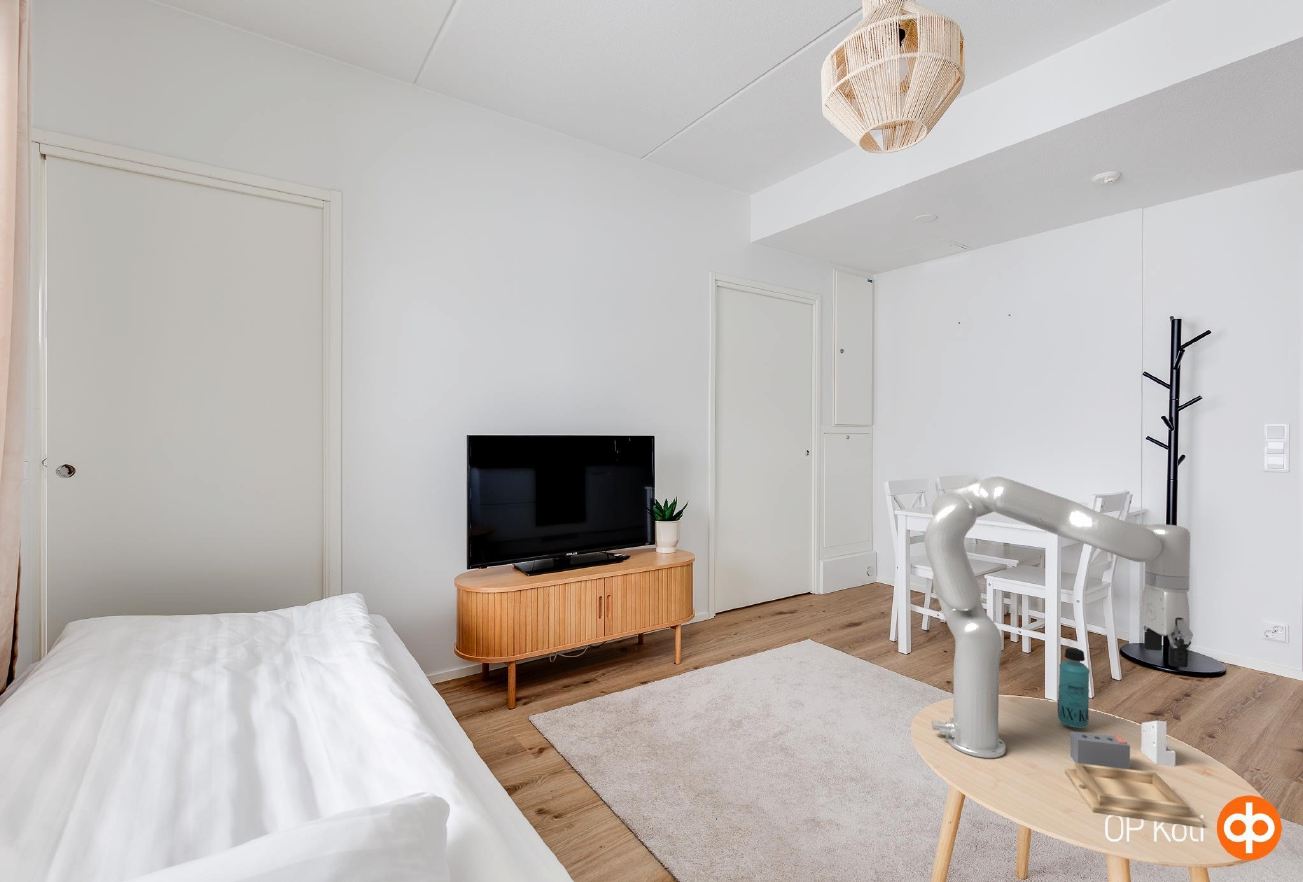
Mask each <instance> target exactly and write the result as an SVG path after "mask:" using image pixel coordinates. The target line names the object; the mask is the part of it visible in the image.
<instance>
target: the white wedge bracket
mask: <svg viewBox="0 0 1303 882" xmlns="http://www.w3.org/2000/svg"><path fill="white" fill-rule="evenodd" d="M1140 741H1141V743H1140V744H1141V747H1140V748H1141V752H1142V753H1143V754H1144V755H1145V756H1146V757H1148V759H1150V761H1152V762H1153V763H1154V764H1156V765H1157V766H1158V765H1161V766H1169V767H1170V766H1171V767H1176V751H1174V750H1173V749H1172V748H1171V747H1169V746H1168V745H1167V721H1165V720H1151V721H1144V722H1141V740H1140Z"/></svg>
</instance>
